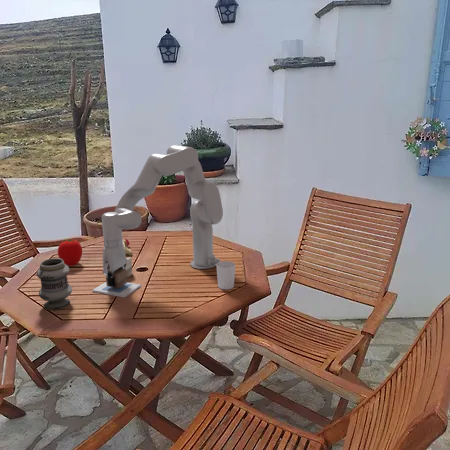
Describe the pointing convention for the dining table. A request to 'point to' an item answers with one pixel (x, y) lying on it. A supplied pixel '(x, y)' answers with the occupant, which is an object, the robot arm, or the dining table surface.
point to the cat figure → (125, 244)
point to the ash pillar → (128, 267)
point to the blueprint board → (117, 289)
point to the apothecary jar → (54, 283)
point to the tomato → (70, 252)
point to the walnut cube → (119, 278)
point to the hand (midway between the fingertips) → (116, 282)
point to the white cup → (225, 274)
